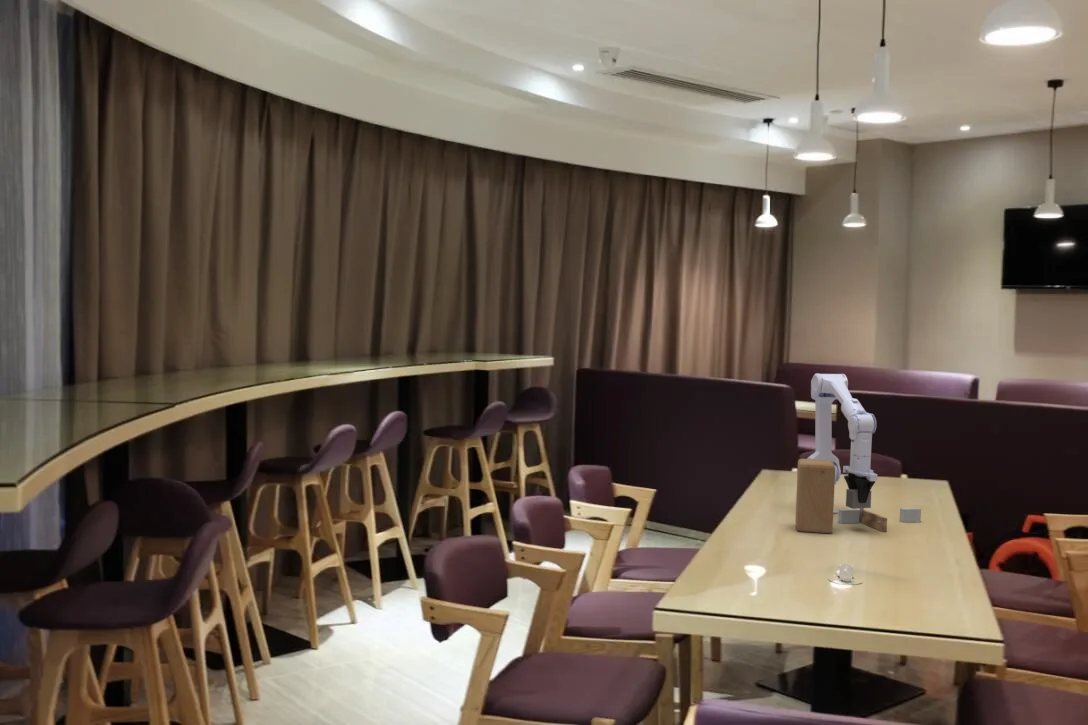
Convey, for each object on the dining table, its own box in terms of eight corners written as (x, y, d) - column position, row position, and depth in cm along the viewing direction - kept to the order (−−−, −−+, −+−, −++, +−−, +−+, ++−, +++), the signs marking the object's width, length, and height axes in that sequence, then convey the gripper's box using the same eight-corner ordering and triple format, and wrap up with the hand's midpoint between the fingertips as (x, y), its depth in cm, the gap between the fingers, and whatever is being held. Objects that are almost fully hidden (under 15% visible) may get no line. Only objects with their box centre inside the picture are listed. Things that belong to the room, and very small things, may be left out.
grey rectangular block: (852, 508, 291) (853, 491, 291) (845, 506, 294) (846, 489, 294) (870, 507, 293) (871, 490, 292) (863, 505, 296) (864, 488, 296)
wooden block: (832, 534, 287) (835, 465, 286) (796, 532, 289) (799, 463, 288) (829, 526, 297) (832, 459, 296) (795, 524, 299) (797, 457, 298)
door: (859, 523, 303) (859, 510, 302) (864, 523, 303) (865, 510, 303) (881, 532, 291) (881, 518, 291) (886, 531, 292) (887, 518, 292)
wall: (841, 523, 302) (841, 509, 301) (838, 522, 304) (838, 507, 303) (920, 522, 306) (921, 507, 306) (916, 520, 308) (917, 506, 308)
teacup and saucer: (837, 575, 246) (838, 558, 246) (869, 581, 241) (869, 564, 240) (822, 582, 239) (822, 565, 239) (854, 589, 234) (855, 571, 234)
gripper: (887, 458, 287) (885, 506, 287) (858, 451, 301) (856, 495, 301) (865, 459, 285) (863, 506, 286) (837, 451, 299) (835, 496, 300)
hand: (858, 501), depth 293 cm, fingers closed on grey rectangular block, 3 cm apart
